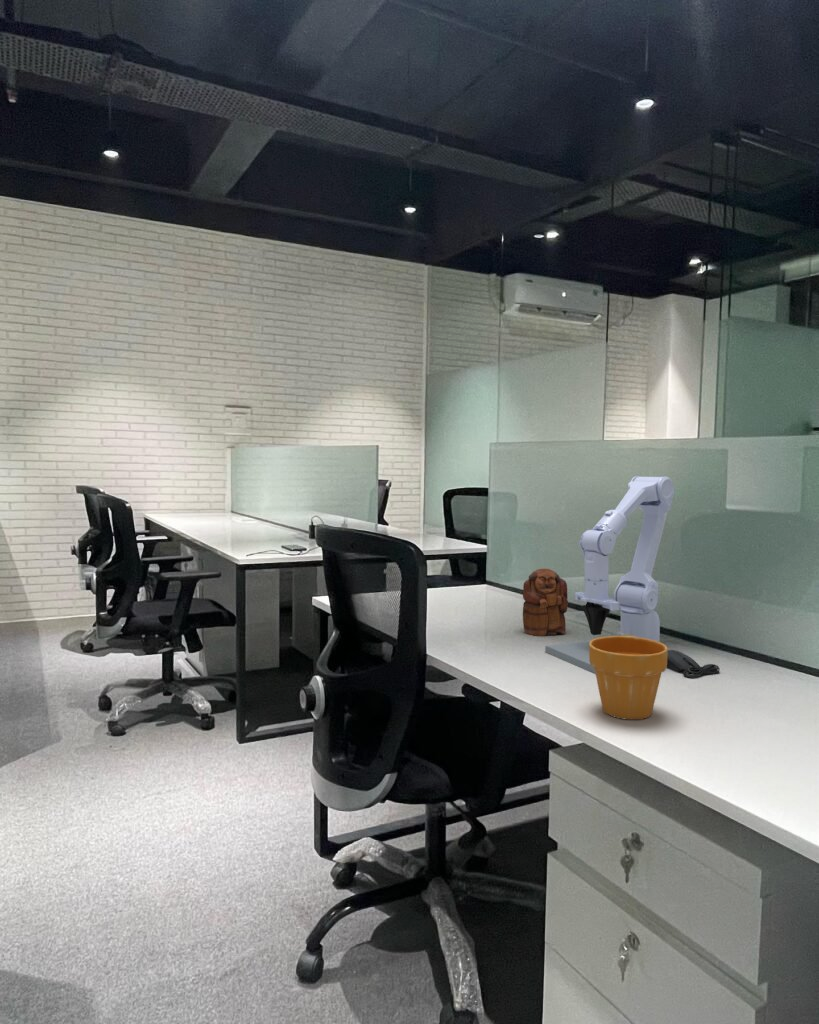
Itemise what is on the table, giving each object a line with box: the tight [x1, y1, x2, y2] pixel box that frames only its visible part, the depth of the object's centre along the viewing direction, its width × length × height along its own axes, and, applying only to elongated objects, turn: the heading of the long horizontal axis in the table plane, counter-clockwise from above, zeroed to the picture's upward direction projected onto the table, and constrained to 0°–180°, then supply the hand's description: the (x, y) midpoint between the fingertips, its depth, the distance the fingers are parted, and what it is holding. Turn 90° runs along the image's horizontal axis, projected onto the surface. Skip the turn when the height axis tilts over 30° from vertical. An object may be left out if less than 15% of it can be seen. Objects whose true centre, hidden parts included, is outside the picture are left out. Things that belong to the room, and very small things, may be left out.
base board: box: [544, 639, 596, 675], centre depth 171 cm, size 16×24×4 cm, turn 23°
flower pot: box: [589, 635, 669, 720], centre depth 135 cm, size 14×14×13 cm
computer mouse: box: [666, 649, 720, 679], centre depth 164 cm, size 10×15×4 cm
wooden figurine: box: [522, 568, 569, 637], centre depth 197 cm, size 12×6×18 cm, turn 100°
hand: (595, 634), depth 175 cm, fingers closed
